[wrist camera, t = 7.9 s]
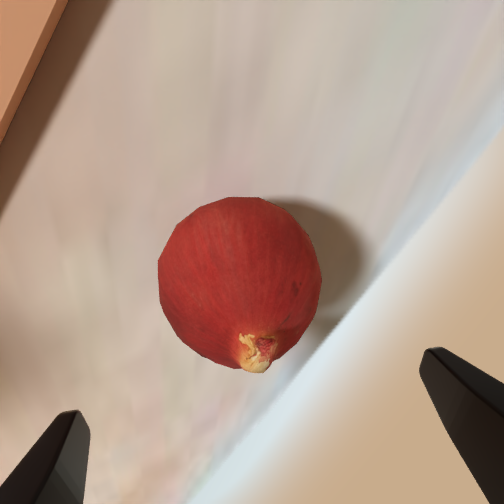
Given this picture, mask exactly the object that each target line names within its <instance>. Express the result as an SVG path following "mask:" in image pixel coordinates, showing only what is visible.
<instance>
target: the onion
mask: <svg viewBox="0 0 504 504" xmlns="http://www.w3.org/2000/svg"><path fill="white" fill-rule="evenodd" d="M158 282H159V297H160V304H161V306H162V309H163V312H164V314H165V316H166V317H167V319H168V321H169V323H170V324H171V326H172V328H173V330H174V331H175V333H176V335H177V336H178V337H179V338H180V339H181V340H182V342H183V343H185V344H186V345H187V346H189V347H190V348H191V349H193V350H194V351H195V352H197V353H198V354H199V355H201V356H202V357H205V358H208V359H210V360H212V361H213V362H215V363H218V364H221V365H224V366H227V367H230V368H233V369H241V368H242V369H244V370H245V371H248V372H252V373H264V372H265V371H266V370H267V369H268V368H269V367H270V365H271V363H272V362H273V361H274V360H276V359H279V358H280V357H282V356H283V355H284V354H285V353H286V352H287V351H289V350H290V349H291V348H292V347H293V346H294V345H295V344H297V342H298V341H299V339H300V338H301V336H302V335H303V333H304V332H305V330H306V329H307V327H308V326H309V324H310V323H311V321H312V320H313V318H314V315H315V313H316V309H317V304H318V299H319V294H320V288H321V283H322V278H321V272H320V267H319V264H318V260H317V257H316V254H315V250H314V247H313V245H312V243H311V240H310V238H309V236H308V234H307V233H306V232H305V231H304V230H303V229H302V227H301V226H300V225H299V224H298V223H297V221H296V220H295V219H294V218H293V217H292V216H291V215H290V214H289V213H288V212H287V211H285V210H284V209H283V208H280V207H278V206H276V205H274V204H272V203H270V202H267V201H265V200H263V199H261V198H259V197H227V198H224V199H221V200H218V201H216V202H213V203H210V204H207V205H204V206H201V207H199V208H197V209H196V210H195V211H194V212H192V213H191V214H190V215H189V216H187V217H186V218H185V219H184V220H182V221H181V222H180V223H179V224H177V225H176V227H175V229H174V231H173V233H172V235H171V236H170V238H169V240H168V242H167V244H166V246H165V248H164V250H163V252H162V254H161V256H160V258H159V259H158Z"/></svg>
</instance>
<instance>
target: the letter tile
mask: <svg viewBox="0 0 504 504" xmlns="http://www.w3.org/2000/svg"><path fill="white" fill-rule="evenodd" d="M67 3H68V0H0V144H1V142H2V140H3V138H4V136H5V134H6V132H7V130H8V127H9V125H10V123H11V121H12V119H13V117H14V115H15V113H16V111H17V108H18V106H19V104H20V102H21V100H22V98H23V96H24V94H25V91H26V89H27V87H28V85H29V83H30V81H31V79H32V77H33V75H34V72H35V70H36V68H37V66H38V64H39V62H40V60H41V58H42V55H43V53H44V51H45V49H46V47H47V45H48V43H49V41H50V39H51V36H52V34H53V32H54V30H55V28H56V26H57V24H58V22H59V20H60V17H61V15H62V13H63V11H64V9H65V7H66V5H67Z"/></svg>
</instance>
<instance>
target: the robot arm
mask: <svg viewBox="0 0 504 504" xmlns="http://www.w3.org/2000/svg"><path fill="white" fill-rule="evenodd" d="M419 372H420V377H421V379H422V381H423V383H424V385H425V387H426V389H427V391H428V394H429V396H430V398H431V400H432V402H433V404H434V406H435V408H436V410H437V412H438V414H439V417H440V419H441V421H442V423H443V425H444V427H445V429H446V431H447V433H448V434H449V436H450V438H451V440H452V441H453V443H454V445H455V446H456V448H457V450H458V451H459V453H460V455H461V457H462V458H463V460H464V461H465V463H466V465H467V467H468V468H469V470H470V472H471V473H472V475H473V477H474V478H475V480H476V482H477V483H478V485H479V487H480V488H481V490H482V492H483V493H484V495H485V497H486V498H487V500H488V502H489V503H490V504H504V384H503V383H502V382H500V381H498V380H497V379H495V378H493V377H492V376H490V375H488V374H487V373H485V372H483V371H482V370H480V369H478V368H477V367H475V366H473V365H472V364H470V363H468V362H467V361H465V360H463V359H462V358H460V357H458V356H457V355H455V354H453V353H452V352H450V351H448V350H447V349H445V348H443V347H434V348H428V349H426V350H425V352H424V355H423V358H422V361H421V364H420V368H419ZM89 446H90V429H89V426H88V425H87V423H86V421H85V419H84V417H83V415H82V413H81V412H80V411H79V410H71V411H66V412H62V413H60V414H59V415H58V416H57V417H56V418H55V419H54V421H53V422H52V423H51V424H50V426H49V427H48V428H47V429H46V431H45V432H44V433H43V434H42V435H41V437H40V438H39V439H38V440H37V442H36V443H35V444H34V445H33V447H32V448H31V449H30V450H29V452H28V453H27V454H26V455H25V457H24V458H23V459H22V460H21V462H20V463H19V464H18V465H17V466H16V468H15V469H14V470H13V471H12V473H11V474H10V475H9V476H8V478H7V479H6V480H5V481H4V483H3V484H2V485H1V486H0V504H83V499H84V491H85V482H86V473H87V464H88V455H89Z"/></svg>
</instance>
